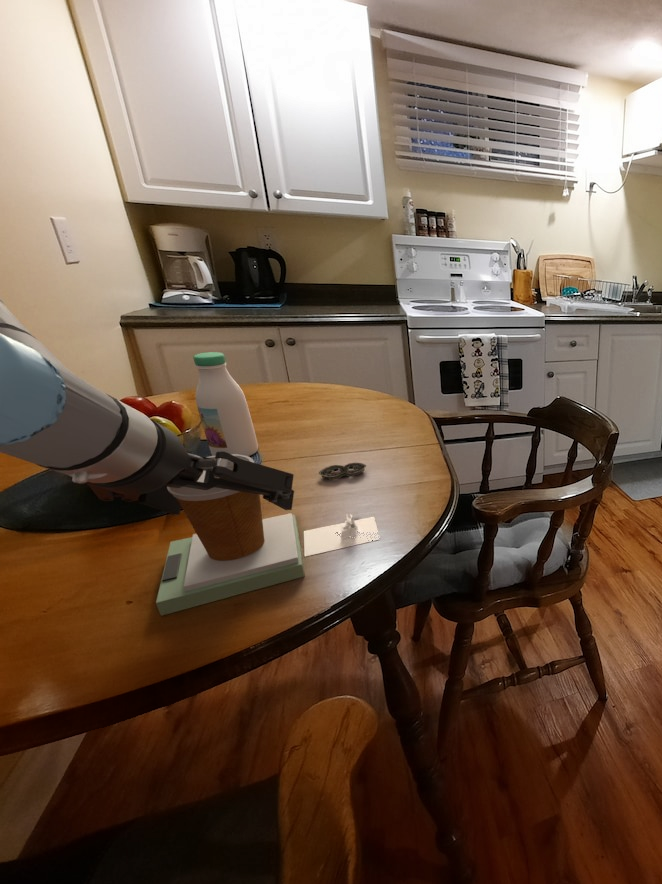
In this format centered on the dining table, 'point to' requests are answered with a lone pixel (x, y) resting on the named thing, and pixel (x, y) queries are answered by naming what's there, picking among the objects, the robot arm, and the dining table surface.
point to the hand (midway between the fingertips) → (235, 502)
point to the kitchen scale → (229, 568)
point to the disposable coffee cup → (223, 518)
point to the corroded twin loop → (342, 470)
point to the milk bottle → (223, 408)
